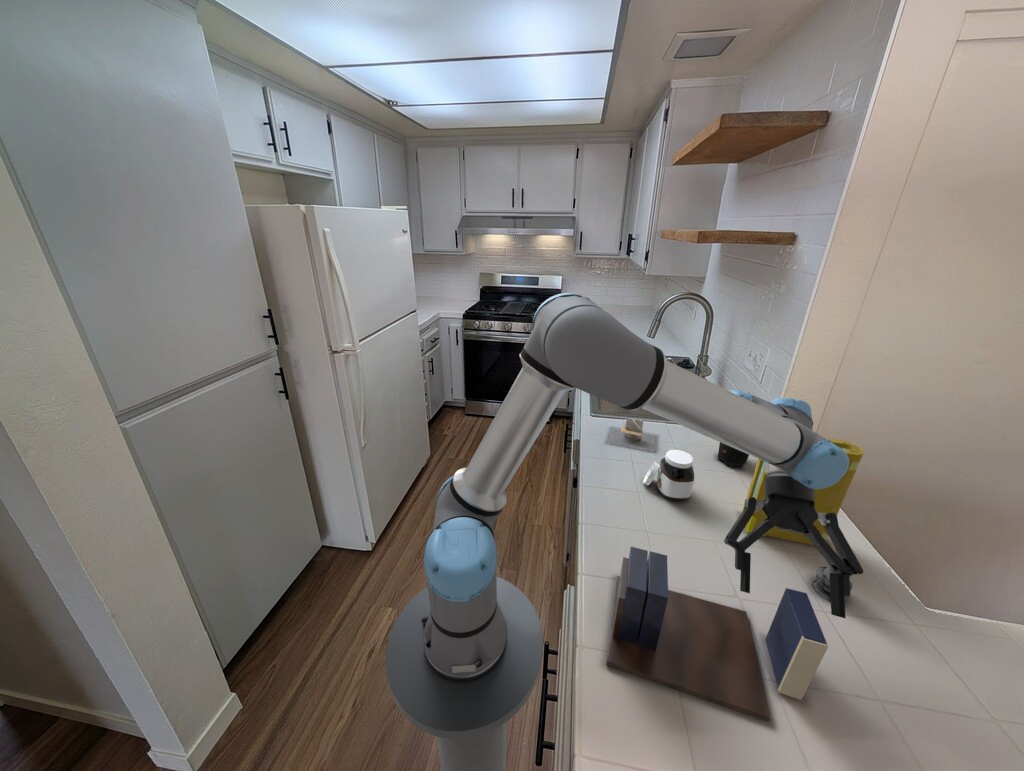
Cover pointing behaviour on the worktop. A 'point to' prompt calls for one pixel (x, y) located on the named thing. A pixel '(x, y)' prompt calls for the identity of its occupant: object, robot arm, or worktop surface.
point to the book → (824, 498)
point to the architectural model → (633, 436)
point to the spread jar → (673, 475)
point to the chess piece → (824, 581)
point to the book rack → (682, 638)
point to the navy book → (795, 644)
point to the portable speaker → (732, 456)
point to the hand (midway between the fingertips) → (790, 604)
